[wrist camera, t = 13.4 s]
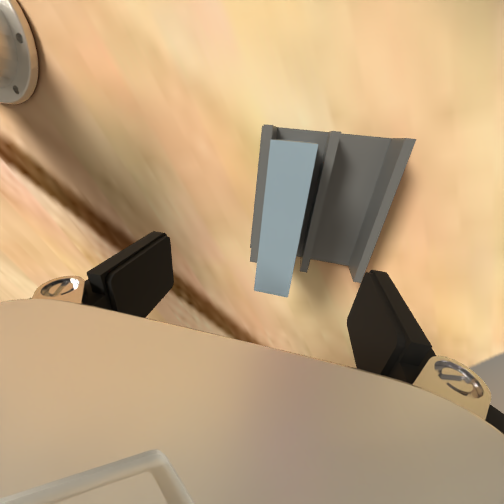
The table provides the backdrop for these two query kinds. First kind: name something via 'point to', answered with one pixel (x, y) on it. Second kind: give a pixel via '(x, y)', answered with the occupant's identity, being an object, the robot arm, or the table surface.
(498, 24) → the table surface
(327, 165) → the dish rack
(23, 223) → the table surface
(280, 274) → the pale blue upright panel
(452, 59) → the table surface
